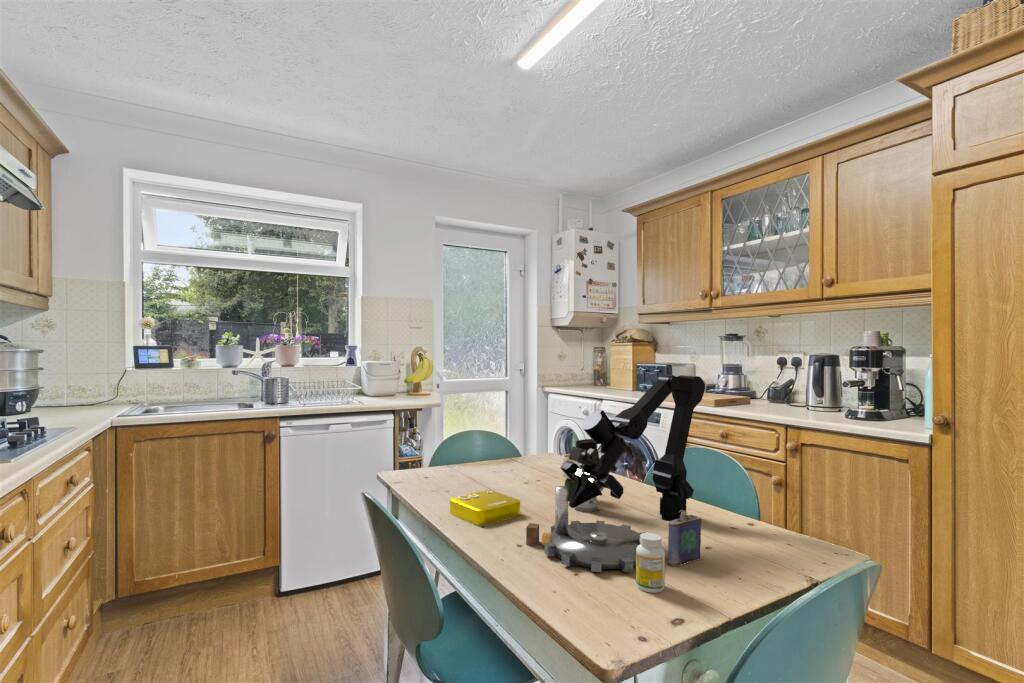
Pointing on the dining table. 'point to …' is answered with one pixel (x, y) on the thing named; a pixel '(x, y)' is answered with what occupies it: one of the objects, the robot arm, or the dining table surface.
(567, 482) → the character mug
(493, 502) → the element tile
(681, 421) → the robot arm
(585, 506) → the travel mug
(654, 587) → the supplement bottle
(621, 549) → the sprocket
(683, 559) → the flask
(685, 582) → the dining table surface
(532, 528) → the brown rectangular block
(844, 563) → the dining table surface
